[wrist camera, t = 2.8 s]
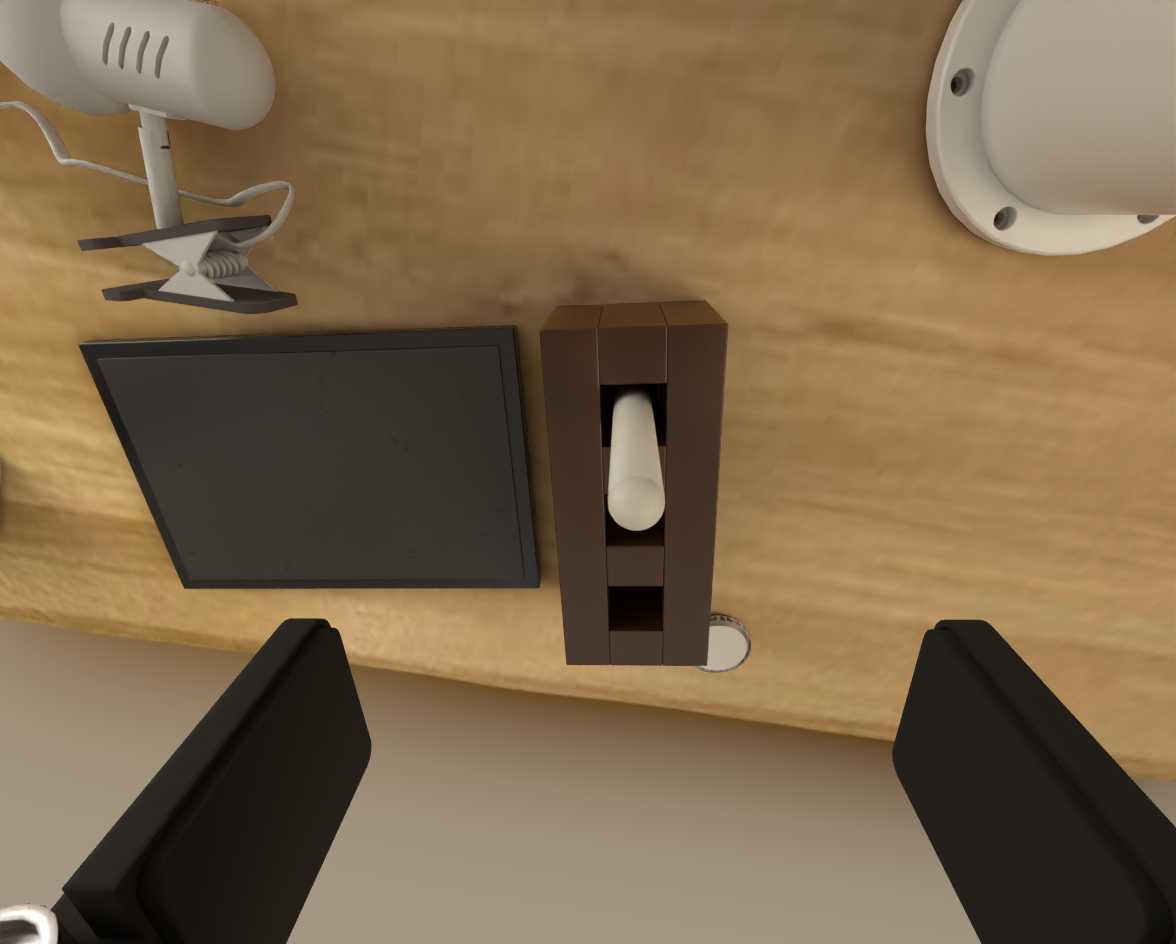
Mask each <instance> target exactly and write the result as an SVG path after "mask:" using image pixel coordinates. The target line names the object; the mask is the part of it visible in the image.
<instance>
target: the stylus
mask: <svg viewBox="0 0 1176 944" xmlns="http://www.w3.org/2000/svg"><path fill="white" fill-rule="evenodd" d="M608 508H609V512H610V514H611V516H612V517H613V519H614V520H615V522H616V523H617V524H619V525H620V526H622V527H624V528H626V529H628V530H633V531H640V530H645V529H647V528H650V527H652V526H653V525H654V524H656V523H657V522H658V521H659V519H660V518H661V516H662V514H663V512H664V508H665V495H664V488H663V481H662V474H661V466H660V459H659V452H658V445H657V438H656V431H655V424H654V416H653V409H652V402H651V395H650V388H649V384H622V385H615V390H614V406H613V423H612V439H611V455H610V472H609V488H608Z"/></svg>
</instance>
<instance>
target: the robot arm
mask: <svg viewBox="0 0 1176 944" xmlns="http://www.w3.org/2000/svg"><path fill="white" fill-rule="evenodd" d="M952 80H954V81H955V82H956V89H955V91H954V93H953V92H952V91H951V81H952ZM925 133H926V141H927V149H928V156H929V164H930V167H931V170H932V173H933V176H934V179H935V182H936V185H937V187H938V190H939V193H940V194H941V196H942V197H943V199H944V201H945V202H946V204H947V205H948V207H949V208H950V210H951V212H952V213H953V215H954V216H955V217H956V218H957V219H958V220H959V221H960V222H962V223H963V224H964V225H965V226H966V227H967V228H968V229H969V230H970V231H971V232H972V233H973V234H975V235H977V236H979V237H981V238H982V239H984V240H986V241H988V242H990V243H991V244H993V245H995V246H998V247H1002V248H1005V249H1009V250H1012V251H1016V252H1020V253H1028V254H1038V255H1046V256H1054V255H1078V254H1083V253H1087V252H1092V251H1096V250H1101V249H1105V248H1110V247H1113V246H1115V245H1118V244H1120V243H1123V242H1125V241H1128V240H1130V239H1133V238H1135V237H1138V236H1140V235H1143V234H1145V233H1147V232H1148V231H1150V230H1152V229H1154V228H1155V227H1157V226H1159V225H1161V224H1162V223H1164V222H1166V221H1168V220H1169V219H1171V218H1173V217H1175V216H1176V0H962V2H961V4H960V6H959V7H958V9H957V11H956V13H955V15H954V16H953V18H952V20H951V22H950V24H949V27H948V30H947V32H946V35H945V37H944V40H943V43H942V45H941V48H940V51H939V53H938V56H937V58H936V61H935V66H934V70H933V75H932V79H931V84H930V88H929V93H928V97H927V114H926V132H925ZM996 214H997V220H996V222H995V223H994V218H995V216H996ZM892 753H893V763H894V767H895V770H896V773H897V775H898V778H899V780H900V782H901V784H902V786H903V788H904V789H905V792H906V794H907V795H908V798H909V800H910V802H911V804H912V805H913V808H914V809H915V812H916V813H917V816H918V818H919V820H920V821H921V824H922V826H923V828H924V830H925V832H926V834H927V835H928V838H929V840H930V842H931V844H932V846H933V848H934V850H935V852H936V854H937V856H938V857H939V860H940V862H941V864H942V866H943V867H944V870H945V872H946V874H947V876H948V878H949V880H950V882H951V883H952V886H953V888H954V890H955V892H956V894H957V896H958V898H959V900H960V902H961V904H962V906H963V908H964V910H965V912H966V914H967V916H968V918H969V920H970V922H971V924H972V926H973V928H974V930H975V932H976V934H977V936H978V938H979V940H980V942H981V944H1176V827H1175V826H1174V825H1173V824H1172V823H1171V822H1170V821H1169V819H1168V818H1167V817H1166V816H1165V815H1164V814H1163V813H1162V812H1161V811H1160V810H1159V809H1158V807H1156V805H1155V804H1154V803H1153V802H1152V801H1151V800H1150V799H1149V798H1148V796H1146V794H1145V793H1144V792H1143V791H1142V790H1141V789H1140V788H1139V787H1138V786H1137V785H1136V783H1135V782H1134V781H1133V780H1131V778H1130V777H1129V776H1128V775H1127V773H1126V772H1125V771H1124V770H1123V769H1122V768H1121V767H1120V766H1119V765H1118V764H1117V763H1116V761H1115V760H1114V759H1113V758H1112V757H1111V756H1110V755H1109V754H1108V753H1107V752H1106V750H1105V749H1104V748H1103V747H1102V746H1101V745H1100V744H1099V743H1098V742H1097V741H1096V740H1095V738H1094V737H1093V736H1092V735H1091V734H1090V733H1089V732H1088V731H1087V730H1086V729H1085V727H1084V726H1083V725H1082V724H1081V723H1080V722H1079V721H1078V720H1077V719H1076V718H1075V717H1074V715H1073V714H1072V713H1071V712H1070V711H1069V710H1068V709H1067V708H1066V707H1065V706H1064V705H1063V703H1062V702H1061V701H1060V700H1059V699H1058V698H1057V697H1056V696H1055V695H1054V694H1053V692H1052V691H1051V690H1050V689H1049V688H1048V687H1047V686H1046V685H1045V684H1044V683H1043V682H1042V680H1041V679H1040V678H1039V677H1038V676H1037V675H1036V674H1035V673H1034V672H1033V671H1032V669H1031V668H1030V667H1029V666H1028V665H1027V664H1026V663H1025V662H1024V661H1023V660H1022V659H1021V657H1020V656H1019V655H1018V654H1017V653H1016V652H1015V651H1014V650H1013V649H1012V648H1011V646H1010V645H1009V644H1008V643H1007V642H1006V641H1005V640H1004V639H1003V638H1002V637H1001V636H1000V634H999V633H998V632H997V631H996V630H995V629H994V628H993V627H992V626H991V625H990V624H989V623H987V622H986V621H983V620H940V621H939V622H938V623H937V624H936V626H935V628H934V629H931V630H928V631H927V632H926V633H925V635H924V638H923V641H922V645H921V649H920V652H919V656H918V659H917V663H916V667H915V670H914V674H913V678H912V681H911V685H910V688H909V692H908V696H907V699H906V703H905V707H904V710H903V714H902V717H901V721H900V725H899V728H898V732H897V736H896V739H895V743H894V747H893V752H892ZM370 755H371V739H370V736H369V732H368V730H367V725H366V722H365V719H364V715H363V712H362V708H361V705H360V701H359V698H358V694H357V691H356V687H355V684H354V681H353V677H352V674H351V670H350V667H349V663H348V660H347V656H346V653H345V649H344V646H343V643H342V639H341V636H340V633H339V631H338V630H337V629H336V628H331V626H330V624H329V622H328V621H327V620H326V619H288V620H285V621H284V622H283V623H282V624H281V625H280V626H279V627H278V628H277V629H276V631H275V632H274V633H273V634H272V635H271V637H270V638H269V639H268V640H267V642H266V643H265V644H264V645H263V646H262V648H261V649H260V650H259V651H258V652H257V654H256V655H255V656H254V657H253V658H252V660H251V661H250V662H249V664H248V665H247V666H246V667H245V668H244V669H243V670H242V672H241V673H240V674H239V675H238V676H237V678H236V679H235V680H234V681H233V683H232V684H231V685H230V686H229V687H228V689H227V690H226V691H225V692H224V693H223V695H222V696H221V697H220V698H219V699H218V701H217V702H216V703H215V705H214V706H213V707H212V708H211V709H210V710H209V711H208V713H207V714H206V715H205V716H204V718H203V719H202V720H201V721H200V722H199V724H198V725H197V726H196V727H195V728H194V730H193V731H192V732H191V733H190V734H189V736H188V737H187V738H186V739H185V741H184V742H183V743H182V744H181V745H180V747H179V748H178V749H177V750H176V751H175V752H174V754H173V755H172V756H171V757H170V759H169V760H168V761H167V762H166V763H165V765H164V766H163V767H162V768H161V769H160V771H159V772H158V773H157V774H156V775H155V777H154V778H153V779H152V780H151V782H150V783H149V784H148V785H147V786H146V787H145V789H144V790H143V791H142V792H141V794H140V795H139V796H138V797H137V798H136V800H135V801H134V802H133V803H132V804H131V806H130V807H129V808H128V809H127V810H126V812H125V813H124V814H123V815H122V816H121V818H120V819H119V820H118V821H117V822H116V824H115V825H114V826H113V827H112V829H111V830H110V831H109V832H108V833H107V835H106V836H105V837H104V838H103V839H102V841H101V842H100V843H99V844H98V845H97V847H96V848H95V849H94V850H93V851H92V853H91V854H90V855H89V856H88V857H87V859H86V860H85V861H84V862H83V863H82V865H81V866H80V867H79V868H78V870H77V871H76V872H75V873H74V874H73V876H72V877H71V878H70V879H69V881H68V882H67V883H66V884H65V885H64V887H63V888H62V890H63V891H64V894H63V896H62V897H61V898H60V899H59V900H58V901H57V903H56V904H55V905H54V906H53V908H52V909H51V910H49V909H48V908H47V907H46V906H43V905H37V904H30V903H28V904H22V905H18V906H12V907H7V908H4V909H2V910H0V944H286V943H287V941H288V938H289V936H290V933H291V932H292V929H293V927H294V925H295V923H296V921H297V919H298V916H299V914H300V912H301V910H302V908H303V906H304V903H305V901H306V899H307V897H308V895H309V892H310V890H311V888H312V886H313V884H314V881H315V879H316V877H317V875H318V873H319V871H320V868H321V866H322V864H323V862H324V860H325V857H326V855H327V853H328V851H329V849H330V846H331V844H332V842H333V840H334V838H335V835H336V833H337V831H338V829H339V827H340V824H341V822H342V820H343V818H344V816H345V814H346V811H347V809H348V807H349V805H350V803H351V800H352V798H353V796H354V794H355V792H356V790H357V787H358V785H359V783H360V781H361V779H362V776H363V774H364V772H365V770H366V768H367V765H368V763H369V759H370Z"/></svg>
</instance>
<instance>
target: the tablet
mask: <svg viewBox="0 0 1176 944" xmlns="http://www.w3.org/2000/svg"><path fill="white" fill-rule="evenodd" d="M78 345H79V348H80V350H81V352H82V354H83V357H84V359H85V361H86V364H87V366H88V368H89V371H90V373H91V375H92V377H93V380H94V382H95V384H96V387H97V389H98V391H99V394H100V396H101V398H102V400H103V403H104V405H105V407H106V410H107V412H108V414H109V417H110V419H111V421H112V424H113V426H114V428H115V430H116V433H117V435H118V437H119V440H120V442H121V444H122V447H123V449H124V451H125V453H126V456H127V458H128V460H129V463H130V465H131V467H132V470H133V472H134V474H135V476H136V479H137V481H138V483H139V486H140V488H141V490H142V493H143V495H144V497H145V500H146V502H147V504H148V506H149V509H150V511H151V513H152V516H153V518H154V520H155V523H156V525H157V527H158V529H159V532H160V534H161V536H162V539H163V541H164V543H165V546H166V548H167V550H168V552H169V555H170V557H171V559H172V562H173V564H174V566H175V569H176V571H177V573H178V576H179V578H180V580H181V582H182V585H183V587H184V589H316V588H540V584H541V572H540V562H539V552H538V542H537V532H536V521H535V511H534V501H533V491H532V481H531V470H530V460H529V450H528V440H527V430H526V420H525V409H524V399H523V389H522V379H521V369H520V358H519V348H518V338H517V328H516V325H502V326H475V327H447V328H419V329H391V330H363V331H335V332H308V333H280V334H252V335H224V336H196V337H168V338H140V339H113V340H90V341H86V342H82V343H79V344H78Z"/></svg>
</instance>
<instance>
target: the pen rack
mask: <svg viewBox="0 0 1176 944" xmlns="http://www.w3.org/2000/svg"><path fill="white" fill-rule="evenodd" d="M539 332H540V344H541V357H542V369H543V381H544V394H545V406H546V418H547V431H548V443H549V455H550V468H551V480H552V492H553V505H554V517H555V529H556V542H557V554H558V566H559V579H560V591H561V603H562V616H563V628H564V640H565V653H566V664H567V665H657V666H661V665H662V664H663V666H707V662H708V646H709V629H710V613H711V597H712V581H713V564H714V548H715V532H716V515H717V499H718V483H719V466H720V450H721V434H722V417H723V401H724V385H725V369H726V352H727V336H728V323H727V322H726V321H725V320H724V319H723V318H722V317H721V316H720V315H719V314H718V313H717V312H716V311H715V310H714V309H713V308H712V307H711V306H710V305H709V304H708V303H707V302H706V301H680V302H659V304H658V302H654V303H628V304H604V305H602V304H601V305H575V306H557V307H556V308H555V310H554V311H553V313H552V314H551V315H550V317H549V318H548V320H547V321H546V322H545V324H544V325H543V327H542V328H541V329H540V331H539ZM622 384H658V402H657V401H651V402H652V409H653V416H654V424H655V431H656V438H657V445H658V452H659V459H660V466H661V474H662V481H663V488H664V495H665V508H664V512H663V514H662V516H661V518H660V519H659V521H658V522H657V523H656V524H654V525H653V526H652V527H650V528H647V529H645V530H640V531H633V530H628V529H626V528H624V527H622V526H620V525H619V524H617V523H616V522H615V520H614V519H613V517H612V516H611V514H610V512H609V508H608V488H609V472H610V455H611V439H612V423H613V406H614V402H607V403H606V385H622Z"/></svg>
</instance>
